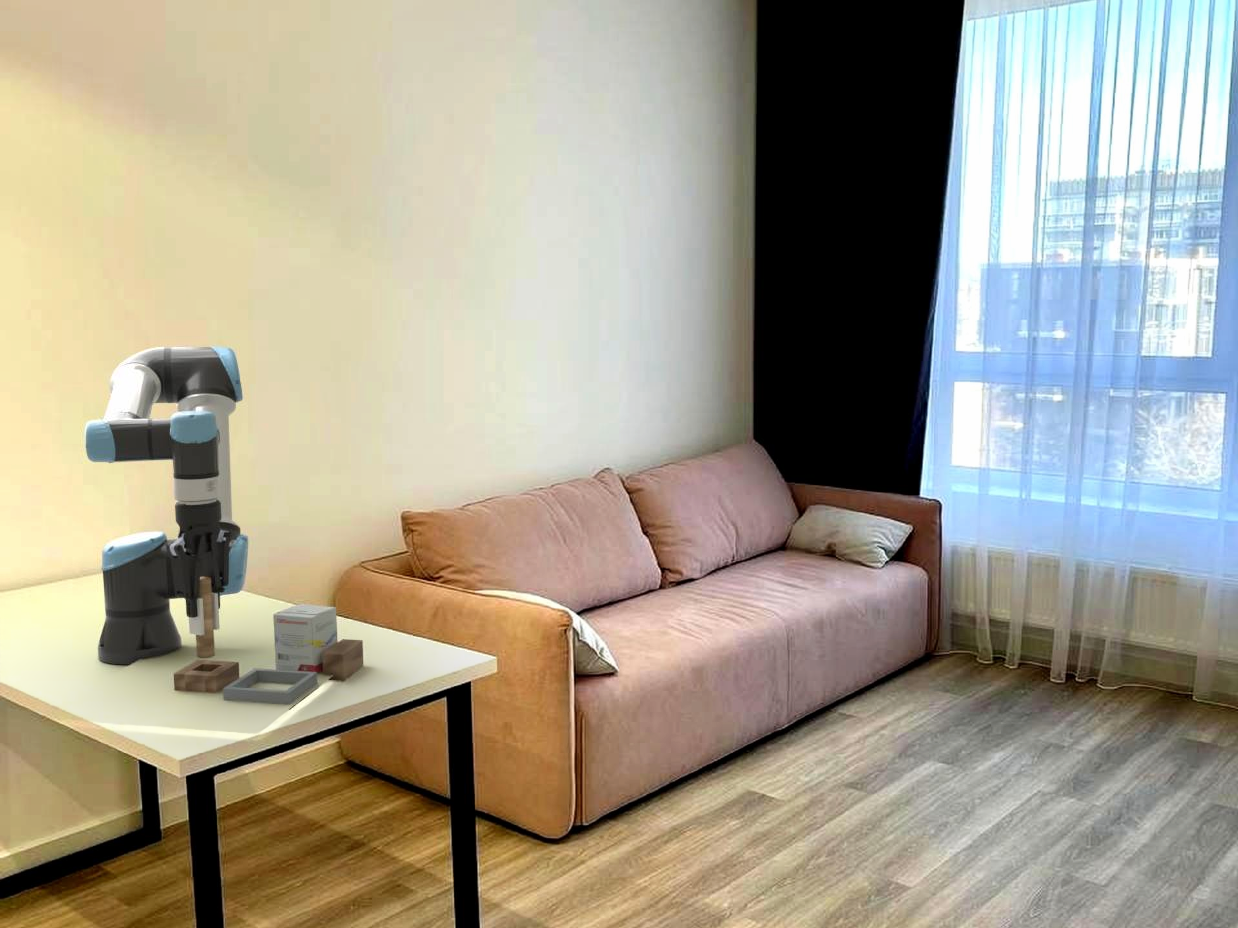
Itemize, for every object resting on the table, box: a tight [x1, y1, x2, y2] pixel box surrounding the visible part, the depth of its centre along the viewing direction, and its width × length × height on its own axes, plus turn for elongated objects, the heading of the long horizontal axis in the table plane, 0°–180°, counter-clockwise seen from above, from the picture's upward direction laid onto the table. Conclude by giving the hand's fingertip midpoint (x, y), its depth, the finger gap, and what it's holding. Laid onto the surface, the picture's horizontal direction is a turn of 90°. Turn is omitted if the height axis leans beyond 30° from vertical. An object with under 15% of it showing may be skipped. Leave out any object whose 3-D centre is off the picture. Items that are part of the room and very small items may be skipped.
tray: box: [222, 667, 318, 711], centre depth 201 cm, size 12×11×3 cm
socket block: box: [173, 659, 241, 694], centre depth 205 cm, size 8×8×4 cm
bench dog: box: [322, 638, 364, 682], centre depth 214 cm, size 4×9×5 cm, turn 170°
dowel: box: [195, 577, 216, 659], centre depth 203 cm, size 3×3×14 cm
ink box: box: [272, 603, 339, 674], centre depth 214 cm, size 9×9×12 cm
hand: (204, 630), depth 204 cm, fingers closed on dowel, 3 cm apart
